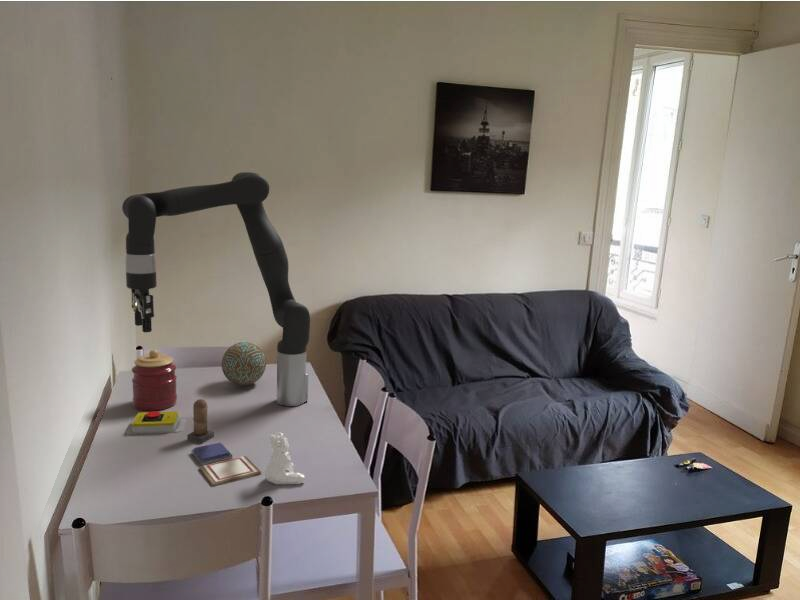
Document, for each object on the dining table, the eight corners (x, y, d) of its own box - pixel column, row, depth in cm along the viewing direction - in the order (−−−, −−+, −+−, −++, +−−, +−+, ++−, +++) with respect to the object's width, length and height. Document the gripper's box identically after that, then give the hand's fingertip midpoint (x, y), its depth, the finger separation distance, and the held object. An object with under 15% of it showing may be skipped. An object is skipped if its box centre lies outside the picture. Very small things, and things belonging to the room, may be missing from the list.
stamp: (199, 433, 171) (198, 395, 169) (213, 436, 170) (213, 398, 168) (187, 440, 167) (186, 401, 164) (202, 443, 165) (202, 404, 163)
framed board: (245, 458, 158) (245, 454, 158) (261, 474, 150) (261, 470, 150) (199, 468, 151) (199, 465, 151) (212, 486, 143) (212, 482, 143)
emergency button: (132, 408, 177) (186, 406, 180) (132, 422, 178) (186, 420, 181) (125, 420, 168) (182, 418, 171) (125, 435, 169) (182, 433, 172)
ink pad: (221, 446, 164) (221, 441, 163) (232, 458, 157) (232, 452, 157) (191, 453, 159) (191, 447, 159) (201, 465, 153) (201, 459, 152)
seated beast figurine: (307, 484, 146) (308, 437, 144) (273, 492, 142) (273, 444, 139) (291, 467, 154) (292, 423, 152) (258, 475, 149) (258, 429, 147)
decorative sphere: (266, 390, 208) (266, 348, 205) (220, 392, 204) (220, 349, 201) (265, 376, 222) (265, 337, 219) (222, 378, 218) (222, 337, 216)
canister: (150, 415, 182) (148, 358, 179) (123, 405, 189) (121, 350, 186) (186, 402, 193) (185, 349, 190) (159, 393, 200) (158, 342, 197)
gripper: (162, 273, 161) (164, 333, 164) (149, 266, 172) (150, 321, 175) (132, 274, 156) (134, 336, 159) (120, 267, 168) (122, 324, 171)
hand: (143, 328), depth 167 cm, fingers open, 8 cm apart
